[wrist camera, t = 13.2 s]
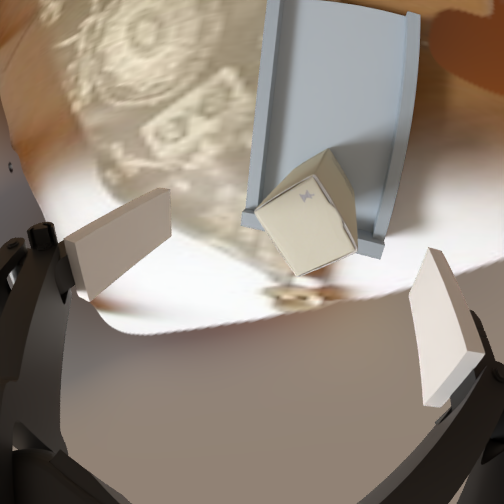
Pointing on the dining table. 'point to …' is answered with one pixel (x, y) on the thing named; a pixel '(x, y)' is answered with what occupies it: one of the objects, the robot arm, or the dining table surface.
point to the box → (312, 215)
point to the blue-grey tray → (335, 103)
